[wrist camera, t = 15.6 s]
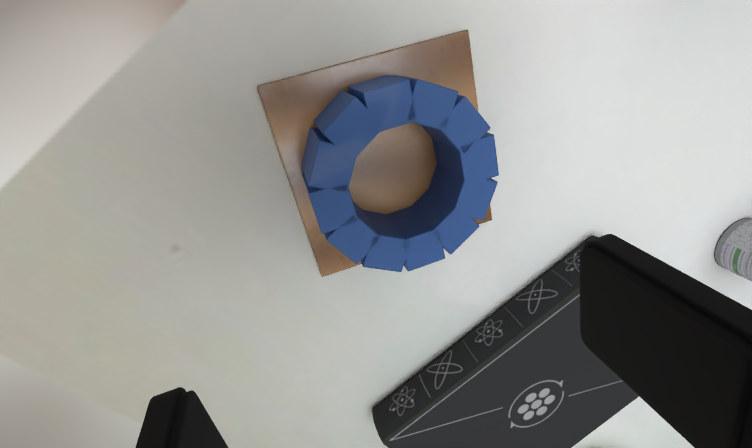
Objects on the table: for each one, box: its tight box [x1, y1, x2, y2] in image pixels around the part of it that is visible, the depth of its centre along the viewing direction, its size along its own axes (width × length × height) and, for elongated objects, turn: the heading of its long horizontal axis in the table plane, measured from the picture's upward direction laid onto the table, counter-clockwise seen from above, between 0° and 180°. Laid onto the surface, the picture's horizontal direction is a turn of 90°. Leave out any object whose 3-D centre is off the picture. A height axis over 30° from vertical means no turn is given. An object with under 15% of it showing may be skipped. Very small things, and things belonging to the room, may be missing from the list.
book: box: [373, 236, 639, 448], centre depth 34 cm, size 22×15×3 cm
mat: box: [257, 30, 492, 277], centre depth 25 cm, size 12×12×1 cm
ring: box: [302, 75, 499, 272], centre depth 23 cm, size 10×10×4 cm
